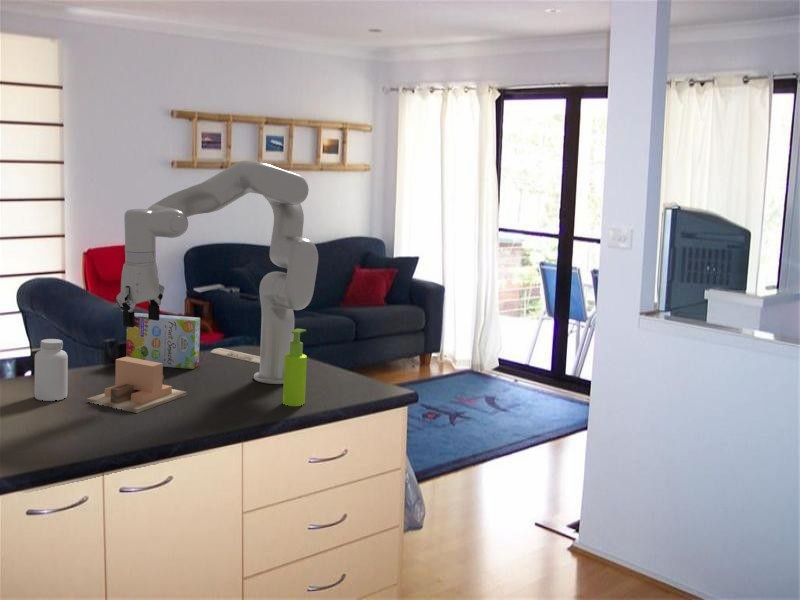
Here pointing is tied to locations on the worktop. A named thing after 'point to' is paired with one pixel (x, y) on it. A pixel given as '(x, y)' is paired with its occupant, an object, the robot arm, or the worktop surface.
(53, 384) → the pill bottle
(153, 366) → the cross plate
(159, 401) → the base
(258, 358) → the newspaper
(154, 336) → the snack box
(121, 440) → the worktop surface
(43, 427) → the worktop surface
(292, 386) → the soap dispenser
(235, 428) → the worktop surface
